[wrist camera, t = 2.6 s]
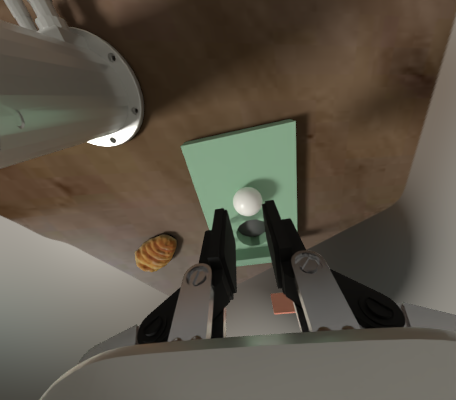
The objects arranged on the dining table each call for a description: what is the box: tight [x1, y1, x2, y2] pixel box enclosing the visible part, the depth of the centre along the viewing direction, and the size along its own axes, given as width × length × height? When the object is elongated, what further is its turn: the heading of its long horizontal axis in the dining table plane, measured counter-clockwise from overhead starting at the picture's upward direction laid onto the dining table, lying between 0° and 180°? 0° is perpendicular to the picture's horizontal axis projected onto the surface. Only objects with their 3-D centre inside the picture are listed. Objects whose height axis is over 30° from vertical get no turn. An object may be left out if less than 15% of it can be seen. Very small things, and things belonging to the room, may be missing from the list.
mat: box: [181, 119, 297, 266], centre depth 28 cm, size 22×15×5 cm
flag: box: [271, 293, 296, 314], centre depth 28 cm, size 1×4×14 cm, turn 102°
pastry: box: [135, 234, 177, 272], centre depth 35 cm, size 9×7×4 cm
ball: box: [233, 187, 263, 216], centre depth 25 cm, size 4×4×4 cm
